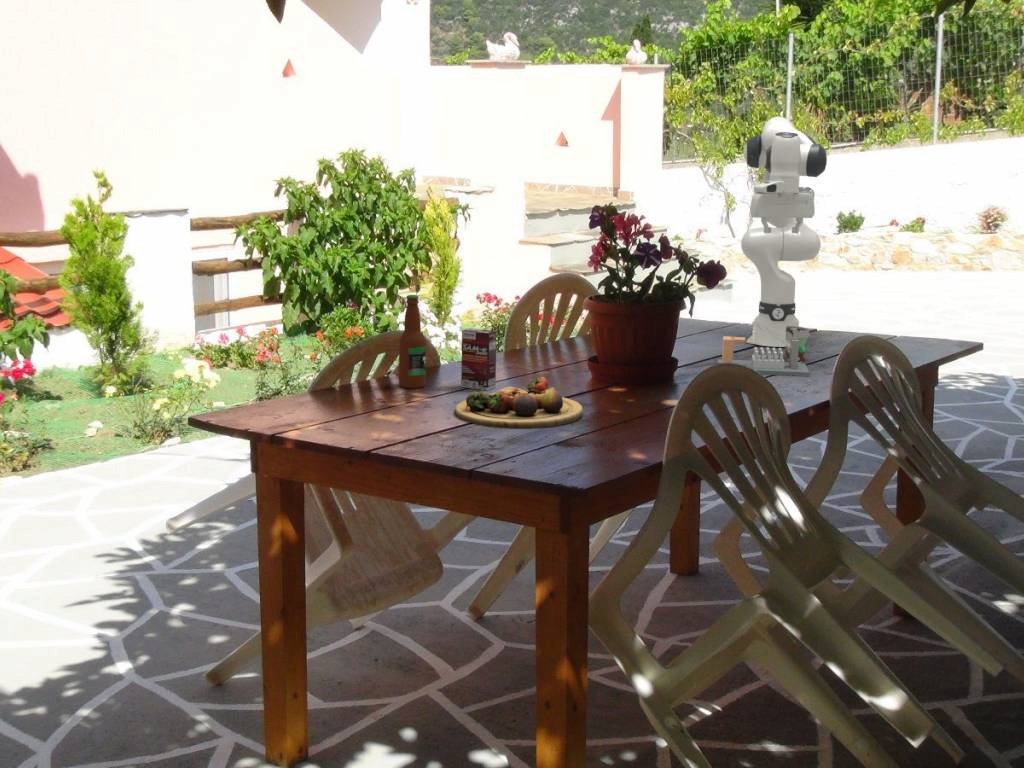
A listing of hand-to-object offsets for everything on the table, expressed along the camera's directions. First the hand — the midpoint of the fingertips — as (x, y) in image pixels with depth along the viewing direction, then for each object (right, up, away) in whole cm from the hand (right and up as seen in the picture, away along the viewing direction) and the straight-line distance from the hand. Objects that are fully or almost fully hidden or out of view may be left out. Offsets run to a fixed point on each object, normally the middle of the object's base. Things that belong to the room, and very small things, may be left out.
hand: (781, 233), depth 388 cm
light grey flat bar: (-4, -32, -6) cm, 33 cm away
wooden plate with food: (-80, -54, -69) cm, 118 cm away
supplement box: (-91, -47, -38) cm, 109 cm away
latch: (-15, -40, -3) cm, 43 cm away
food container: (+8, -39, +13) cm, 41 cm away
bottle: (-109, -47, -38) cm, 124 cm away
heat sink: (-7, -41, -4) cm, 42 cm away
